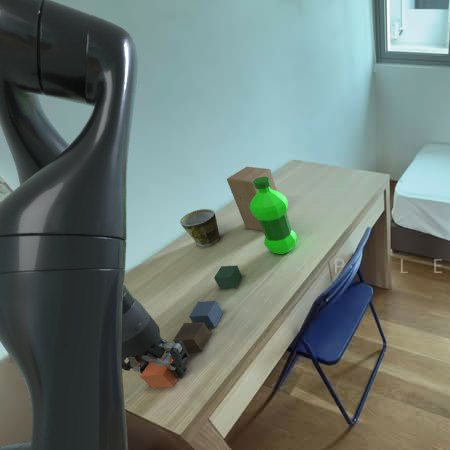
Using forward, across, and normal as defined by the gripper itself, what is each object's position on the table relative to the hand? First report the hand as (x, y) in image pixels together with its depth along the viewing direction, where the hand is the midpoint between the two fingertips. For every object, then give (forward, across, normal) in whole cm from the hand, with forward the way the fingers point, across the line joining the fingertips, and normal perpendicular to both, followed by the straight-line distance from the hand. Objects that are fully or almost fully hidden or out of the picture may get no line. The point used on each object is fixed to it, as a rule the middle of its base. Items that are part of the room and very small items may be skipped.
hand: (167, 375), depth 66 cm
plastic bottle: (+1, -13, -42) cm, 44 cm away
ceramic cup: (+1, +14, -47) cm, 49 cm away
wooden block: (+1, -2, -58) cm, 58 cm away
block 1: (0, 0, 0) cm, 0 cm away
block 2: (0, -2, -14) cm, 15 cm away
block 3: (0, -2, -8) cm, 8 cm away
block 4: (+1, -2, -28) cm, 28 cm away
